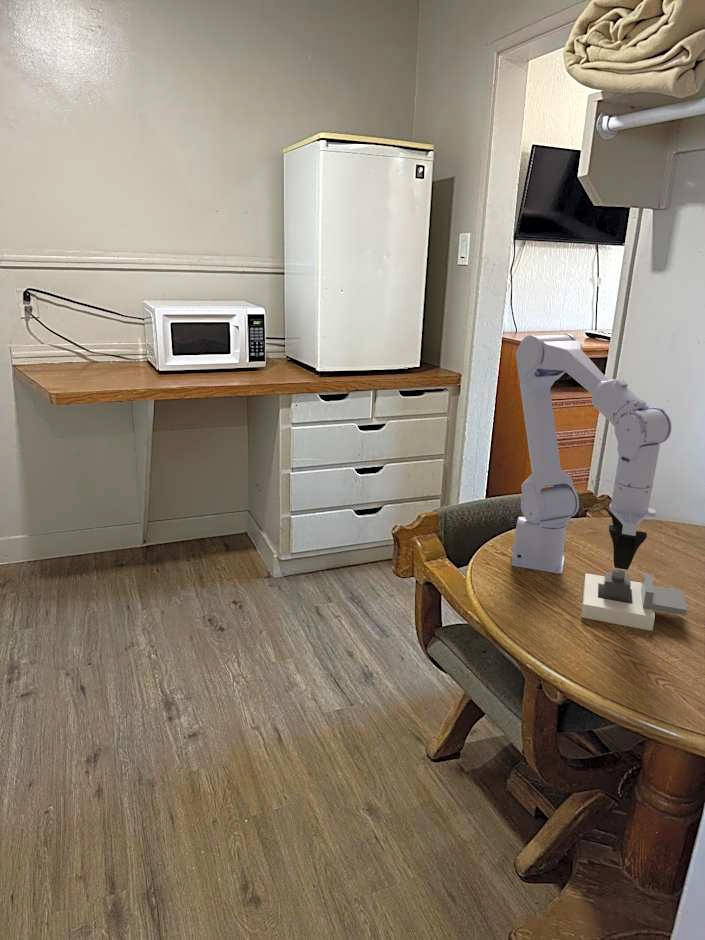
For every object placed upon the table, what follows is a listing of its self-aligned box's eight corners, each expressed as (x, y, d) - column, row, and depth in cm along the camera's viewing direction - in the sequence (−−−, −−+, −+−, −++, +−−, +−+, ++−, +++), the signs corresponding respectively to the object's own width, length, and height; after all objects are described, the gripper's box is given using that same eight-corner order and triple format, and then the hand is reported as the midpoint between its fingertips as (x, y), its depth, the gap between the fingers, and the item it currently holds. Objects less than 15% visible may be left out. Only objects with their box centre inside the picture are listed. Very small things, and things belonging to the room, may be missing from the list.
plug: (600, 609, 115) (606, 574, 113) (601, 599, 119) (606, 564, 117) (625, 614, 114) (631, 579, 112) (625, 603, 117) (631, 569, 115)
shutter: (642, 607, 111) (645, 591, 110) (641, 588, 117) (643, 573, 116) (686, 615, 109) (689, 599, 108) (681, 595, 115) (685, 580, 114)
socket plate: (581, 617, 112) (583, 604, 112) (583, 585, 123) (585, 573, 122) (652, 630, 109) (654, 617, 108) (648, 596, 120) (650, 584, 119)
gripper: (663, 501, 101) (648, 581, 106) (657, 472, 114) (644, 545, 119) (613, 494, 103) (601, 573, 108) (613, 467, 116) (602, 538, 121)
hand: (620, 558), depth 113 cm, fingers open, 7 cm apart
